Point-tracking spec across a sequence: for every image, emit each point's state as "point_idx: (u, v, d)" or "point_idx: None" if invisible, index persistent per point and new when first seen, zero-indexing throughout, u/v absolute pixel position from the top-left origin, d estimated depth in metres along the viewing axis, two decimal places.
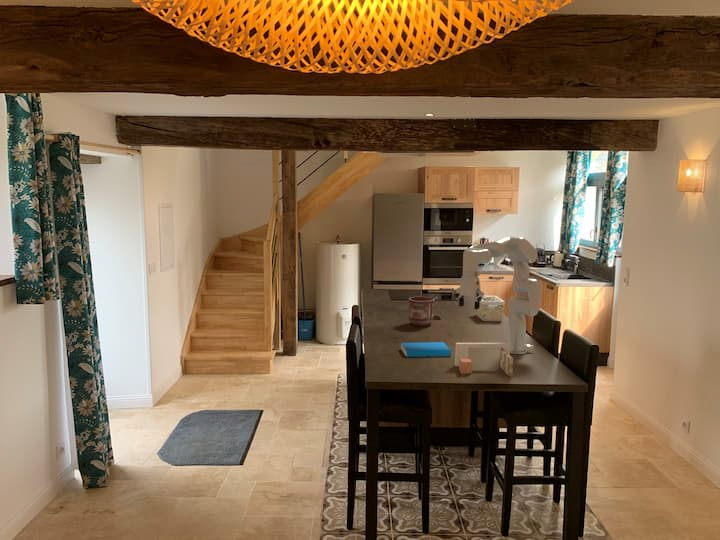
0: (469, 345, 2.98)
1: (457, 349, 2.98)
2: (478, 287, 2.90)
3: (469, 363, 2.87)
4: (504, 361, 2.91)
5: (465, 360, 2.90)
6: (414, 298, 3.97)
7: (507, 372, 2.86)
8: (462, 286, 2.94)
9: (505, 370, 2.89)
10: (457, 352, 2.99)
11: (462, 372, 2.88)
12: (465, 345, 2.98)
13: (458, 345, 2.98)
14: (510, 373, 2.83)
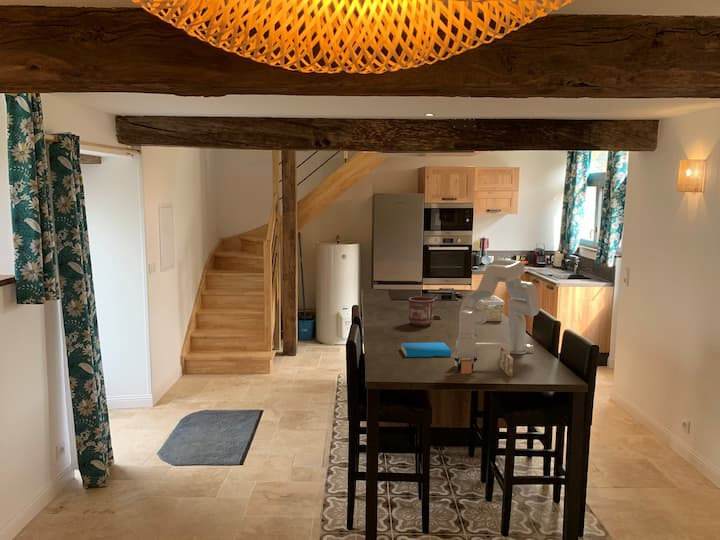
0: None
1: None
2: None
3: (469, 363, 2.87)
4: (504, 361, 2.91)
5: (465, 360, 2.90)
6: (414, 298, 3.97)
7: (507, 372, 2.86)
8: (461, 349, 2.87)
9: (505, 370, 2.89)
10: None
11: (462, 372, 2.88)
12: None
13: None
14: (510, 373, 2.83)
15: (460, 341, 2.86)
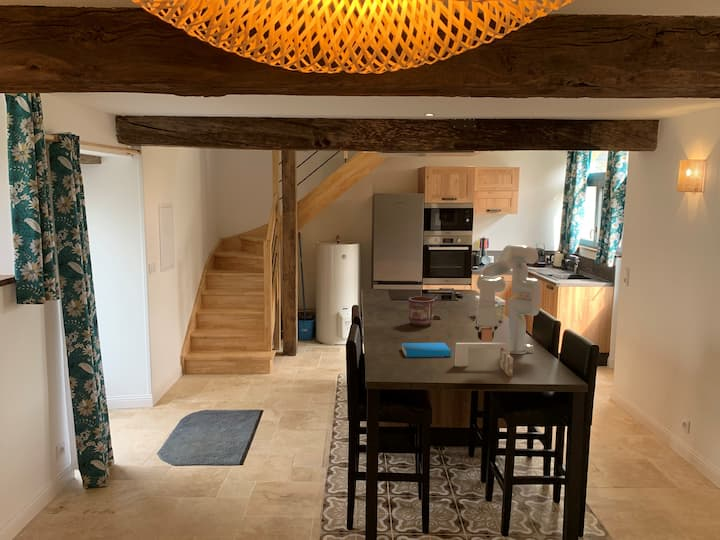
0: (469, 345, 2.98)
1: (457, 349, 2.98)
2: None
3: (490, 331, 2.87)
4: (504, 361, 2.91)
5: (485, 328, 2.89)
6: (414, 298, 3.97)
7: (507, 372, 2.86)
8: (482, 317, 2.86)
9: (505, 370, 2.89)
10: (457, 352, 2.99)
11: (483, 340, 2.87)
12: (465, 345, 2.98)
13: (458, 345, 2.98)
14: (510, 373, 2.83)
15: (481, 309, 2.86)
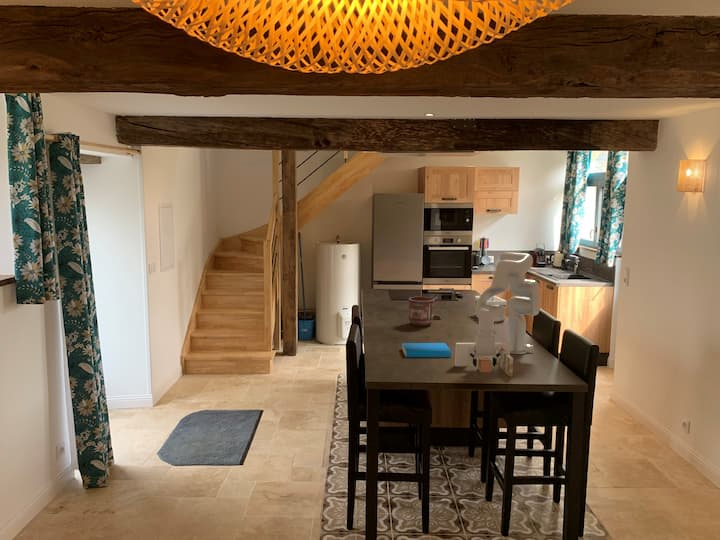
0: (469, 345, 2.98)
1: (457, 349, 2.98)
2: None
3: (488, 362, 2.89)
4: (504, 361, 2.91)
5: (484, 359, 2.92)
6: (414, 298, 3.97)
7: (507, 372, 2.86)
8: (480, 346, 2.88)
9: (505, 370, 2.89)
10: (457, 352, 2.99)
11: (481, 371, 2.90)
12: (465, 345, 2.98)
13: (458, 345, 2.98)
14: (510, 373, 2.83)
15: (479, 338, 2.88)
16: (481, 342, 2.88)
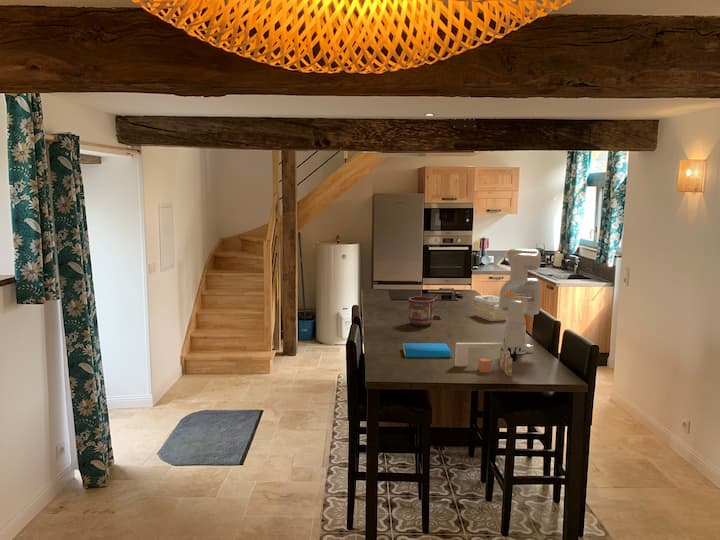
0: (469, 345, 2.98)
1: (457, 349, 2.98)
2: None
3: (488, 362, 2.89)
4: (504, 361, 2.91)
5: (484, 359, 2.92)
6: (414, 298, 3.97)
7: (506, 372, 2.86)
8: (510, 338, 2.83)
9: (505, 370, 2.89)
10: (457, 352, 2.99)
11: (481, 371, 2.90)
12: (465, 345, 2.98)
13: (458, 345, 2.98)
14: (509, 373, 2.83)
15: (509, 330, 2.83)
16: (511, 334, 2.83)
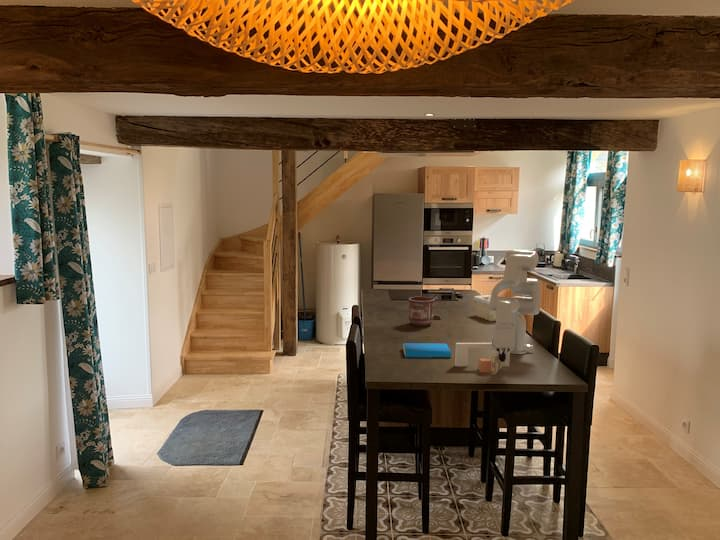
0: (469, 345, 2.98)
1: (457, 349, 2.98)
2: None
3: (488, 362, 2.89)
4: None
5: (484, 359, 2.92)
6: (414, 298, 3.97)
7: None
8: (498, 339, 2.83)
9: None
10: (457, 352, 2.99)
11: (481, 371, 2.90)
12: (465, 345, 2.98)
13: (458, 345, 2.98)
14: (492, 372, 2.85)
15: (497, 331, 2.83)
16: (499, 335, 2.83)
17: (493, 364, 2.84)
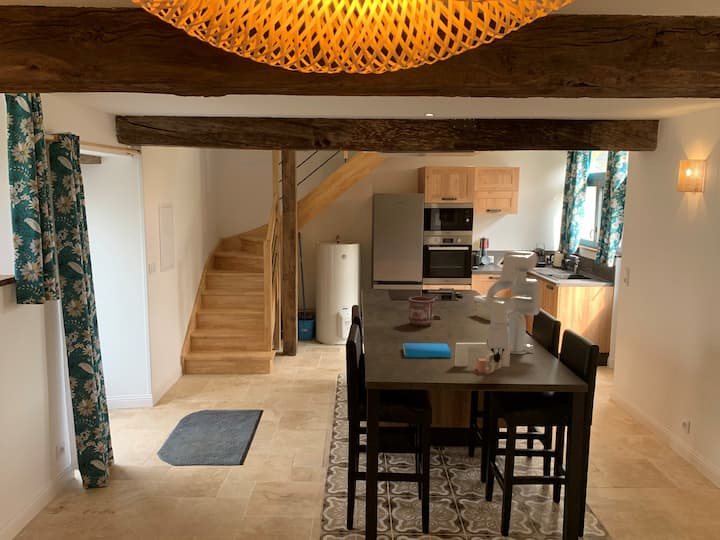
0: (469, 345, 2.98)
1: (457, 349, 2.98)
2: None
3: None
4: None
5: (483, 359, 2.92)
6: (414, 298, 3.97)
7: None
8: (493, 339, 2.83)
9: None
10: (457, 352, 2.99)
11: (480, 371, 2.90)
12: (465, 345, 2.98)
13: (458, 345, 2.98)
14: (486, 370, 2.86)
15: (492, 331, 2.83)
16: (494, 335, 2.83)
17: (487, 363, 2.86)
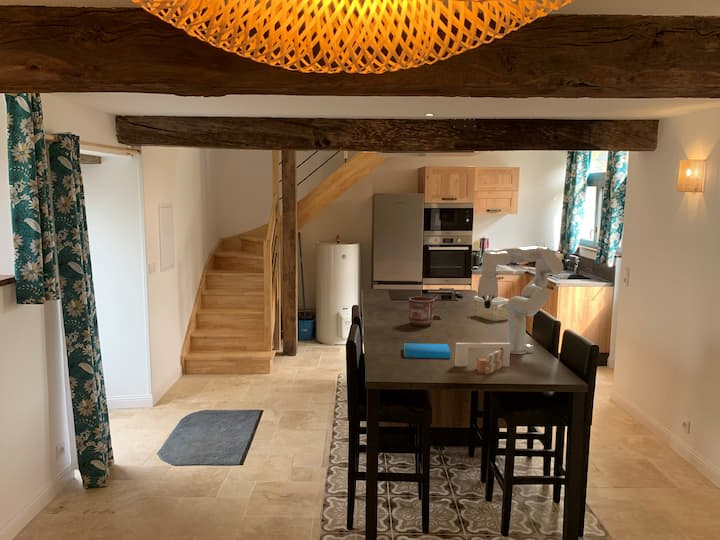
0: (469, 345, 2.98)
1: (457, 349, 2.98)
2: None
3: None
4: None
5: (482, 359, 2.92)
6: (414, 298, 3.97)
7: None
8: (484, 287, 3.10)
9: None
10: (457, 352, 2.99)
11: (480, 371, 2.90)
12: (465, 345, 2.98)
13: (458, 345, 2.98)
14: (486, 370, 2.86)
15: (483, 280, 3.10)
16: (484, 283, 3.10)
17: (487, 363, 2.86)
